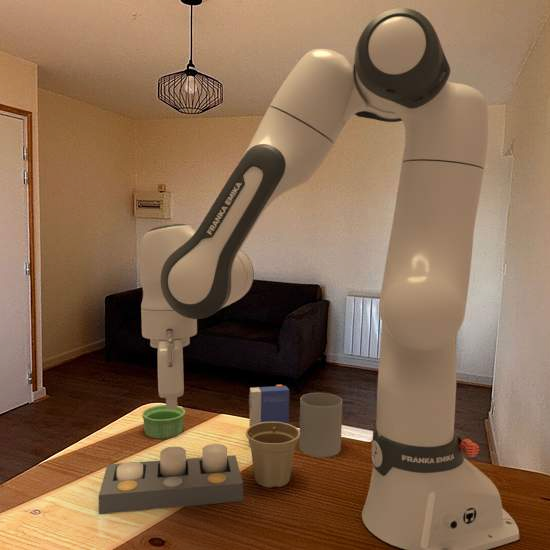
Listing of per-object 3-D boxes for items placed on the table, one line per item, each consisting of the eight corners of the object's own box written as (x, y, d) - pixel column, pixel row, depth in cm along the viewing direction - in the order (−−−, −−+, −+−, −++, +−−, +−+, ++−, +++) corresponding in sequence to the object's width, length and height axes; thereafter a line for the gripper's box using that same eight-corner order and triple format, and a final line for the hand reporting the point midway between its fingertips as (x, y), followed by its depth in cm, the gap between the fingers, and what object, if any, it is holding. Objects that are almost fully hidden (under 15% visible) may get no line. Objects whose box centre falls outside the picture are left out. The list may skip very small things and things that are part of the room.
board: (235, 471, 89) (235, 454, 88) (242, 500, 79) (243, 481, 79) (107, 481, 84) (107, 463, 84) (98, 514, 75) (98, 493, 74)
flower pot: (294, 497, 80) (295, 446, 80) (238, 490, 82) (239, 440, 82) (302, 470, 90) (303, 424, 89) (252, 464, 92) (253, 419, 91)
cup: (295, 453, 96) (296, 404, 95) (302, 437, 104) (304, 391, 103) (338, 459, 94) (340, 408, 93) (342, 441, 102) (344, 395, 101)
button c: (143, 479, 84) (143, 460, 84) (142, 492, 80) (142, 472, 80) (118, 481, 83) (118, 462, 83) (115, 495, 79) (115, 474, 79)
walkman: (284, 440, 102) (285, 383, 101) (288, 445, 100) (289, 388, 99) (247, 443, 101) (248, 386, 99) (250, 449, 98) (251, 390, 97)
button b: (185, 464, 85) (185, 445, 85) (185, 476, 81) (186, 456, 81) (160, 466, 84) (160, 447, 84) (159, 478, 80) (159, 458, 80)
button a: (225, 461, 87) (225, 443, 86) (228, 473, 83) (228, 453, 82) (201, 463, 86) (201, 444, 86) (203, 475, 82) (203, 455, 81)
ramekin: (174, 442, 100) (174, 422, 100) (134, 437, 102) (134, 417, 102) (191, 426, 109) (191, 407, 109) (154, 421, 111) (154, 402, 111)
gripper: (192, 336, 71) (194, 429, 72) (187, 313, 91) (188, 387, 92) (146, 338, 69) (149, 433, 71) (151, 315, 89) (154, 389, 90)
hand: (171, 406), depth 81 cm, fingers closed
